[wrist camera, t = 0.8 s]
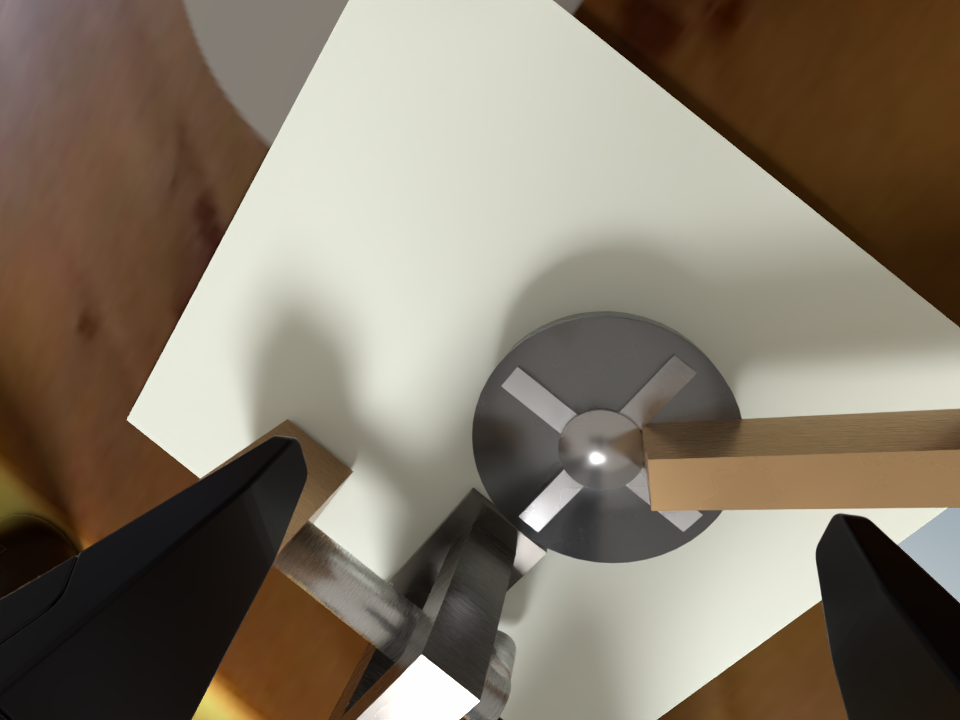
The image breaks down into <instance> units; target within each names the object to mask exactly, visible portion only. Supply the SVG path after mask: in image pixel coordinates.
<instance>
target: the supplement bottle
mask: <svg viewBox="0 0 960 720" xmlns="http://www.w3.org/2000/svg"><path fill="white" fill-rule="evenodd" d="M73 556H78V554H77V552H76V550H75V549H74V547H73V545H72V544H71V543H70V541H69V540H68V539H67V538H66V537H65V535H64V534H63V533H62V532H61V531H59V530H58V529H57V528H56V527H55V526H53V525H52V524H50V523H49V522H47V521H45V520H43V519H41V518H39V517H36V516H32V515H27V514H12V515H7V516H4V517H1V518H0V599H1V598H3V597H5V596H6V595H8V594H10V593H12V592H14V591H15V590H17V589H19V588H21V587H22V586H24V585H26V584H27V583H29V582H31V581H33V580H34V579H36V578H38V577H40V576H41V575H43V574H45V573H46V572H48V571H50V570H52V569H53V568H55V567H57V566H58V565H60V564H61V563H63V562H65V561H66V560H68V559H70V558H71V557H73Z"/></svg>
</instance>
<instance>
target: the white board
mask: <svg viewBox="0 0 960 720" xmlns="http://www.w3.org/2000/svg"><path fill="white" fill-rule="evenodd" d="M598 311H612V312H623V313H629V314H634V315H638V316H643V317H646V318H649V319H652V320H654V321H657V322H660V323H662V324H664V325H666V326H668V327H670V328H672V329H674V330H676V331H678V332H679V333H680V334H682V335H683V336H685V337H686V338H688V339H689V340H690V341H692V342H693V343H694V344H695V345H696V346H697V347H698V348H700V349H701V350H702V351H703V352H704V353H705V354H706V355H707V357H708V358H709V359H710V360H711V361H712V363H713V364H714V365H715V366H716V368H717V369H718V370H719V372H720V373H721V375H722V376H723V377H724V379H725V381H726V382H727V384H728V386H729V387H730V389H731V391H732V392H733V395H734V397H735V399H736V402H737V404H738V407H739V409H740V413H741V417H742V419H751V418H772V417H793V416H814V415H835V414H856V413H877V412H898V411H919V410H940V409H960V327H958V326H957V325H956V324H955V323H953V322H952V321H951V320H950V319H948V318H947V317H946V316H945V315H943V314H942V313H941V312H940V311H938V310H937V309H936V308H935V307H933V306H932V305H931V304H930V303H928V302H927V301H926V300H925V299H924V298H922V297H921V296H920V295H919V294H917V293H916V292H915V291H914V290H912V289H911V288H910V287H909V286H907V285H906V284H905V283H904V282H902V281H901V280H900V279H899V278H897V277H896V276H895V275H894V274H892V273H891V272H890V271H889V270H887V269H886V268H885V267H884V266H883V265H881V264H880V263H879V262H878V261H876V260H875V259H874V258H873V257H871V256H870V255H869V254H868V253H866V252H865V251H864V250H863V249H861V248H860V247H859V246H858V245H856V244H855V243H854V242H853V241H851V240H850V239H849V238H848V237H846V236H845V235H844V234H843V233H842V232H840V231H839V230H838V229H837V228H835V227H834V226H833V225H832V224H830V223H829V222H828V221H827V220H825V219H824V218H823V217H822V216H820V215H819V214H818V213H817V212H815V211H814V210H813V209H812V208H810V207H809V206H808V205H807V204H806V203H804V202H803V201H802V200H801V199H799V198H798V197H797V196H796V195H794V194H793V193H792V192H791V191H789V190H788V189H787V188H786V187H784V186H783V185H782V184H781V183H779V182H778V181H777V180H776V179H774V178H773V177H772V176H771V175H769V174H768V173H767V172H766V171H765V170H763V169H762V168H761V167H760V166H758V165H757V164H756V163H755V162H753V161H752V160H751V159H750V158H748V157H747V156H746V155H745V154H743V153H742V152H741V151H740V150H738V149H737V148H736V147H735V146H733V145H732V144H731V143H730V142H729V141H727V140H726V139H725V138H724V137H722V136H721V135H720V134H719V133H717V132H716V131H715V130H714V129H712V128H711V127H710V126H709V125H707V124H706V123H705V122H704V121H702V120H701V119H700V118H699V117H697V116H696V115H695V114H694V113H692V112H691V111H690V110H689V109H688V108H686V107H685V106H684V105H683V104H681V103H680V102H679V101H678V100H676V99H675V98H674V97H673V96H671V95H670V94H669V93H668V92H666V91H665V90H664V89H663V88H661V87H660V86H659V85H658V84H656V83H655V82H654V81H653V80H651V79H650V78H649V77H648V76H647V75H645V74H644V73H643V72H642V71H640V70H639V69H638V68H637V67H635V66H634V65H633V64H632V63H630V62H629V61H628V60H627V59H625V58H624V57H623V56H622V55H620V54H619V53H618V52H617V51H615V50H614V49H613V48H612V47H611V46H609V45H608V44H607V43H606V42H604V41H603V40H602V39H601V38H599V37H598V36H597V35H596V34H594V33H593V32H592V31H591V30H589V29H588V28H587V27H586V26H584V25H583V24H582V23H581V22H579V21H578V20H577V19H576V18H574V17H573V16H572V15H571V14H570V13H568V12H567V11H566V10H564V9H563V8H562V7H561V6H560V5H558V4H557V3H556V2H555V1H553V0H349V1H348V3H347V5H346V7H345V9H344V11H343V12H342V14H341V16H340V18H339V20H338V22H337V24H336V26H335V28H334V29H333V31H332V33H331V35H330V37H329V39H328V41H327V43H326V44H325V46H324V48H323V50H322V52H321V54H320V56H319V58H318V60H317V62H316V63H315V65H314V67H313V69H312V71H311V73H310V75H309V77H308V78H307V80H306V82H305V84H304V86H303V88H302V90H301V92H300V94H299V95H298V97H297V99H296V101H295V103H294V105H293V107H292V109H291V111H290V113H289V114H288V116H287V118H286V120H285V122H284V124H283V126H282V128H281V129H280V131H279V133H278V135H277V137H276V139H275V141H274V143H273V144H272V146H271V148H270V150H269V152H268V154H267V156H266V158H265V160H264V161H263V163H262V165H261V167H260V169H259V171H258V173H257V175H256V177H255V178H254V180H253V182H252V184H251V186H250V188H249V190H248V192H247V194H246V195H245V197H244V199H243V201H242V203H241V205H240V207H239V209H238V211H237V212H236V214H235V216H234V218H233V220H232V222H231V224H230V226H229V228H228V229H227V231H226V233H225V235H224V237H223V239H222V241H221V243H220V245H219V246H218V248H217V250H216V252H215V254H214V256H213V258H212V260H211V262H210V263H209V265H208V267H207V269H206V271H205V273H204V275H203V277H202V279H201V280H200V282H199V284H198V286H197V288H196V290H195V292H194V294H193V296H192V297H191V299H190V301H189V303H188V305H187V307H186V309H185V311H184V313H183V314H182V316H181V318H180V320H179V322H178V324H177V326H176V328H175V330H174V331H173V333H172V335H171V337H170V339H169V341H168V343H167V345H166V347H165V348H164V350H163V352H162V354H161V356H160V358H159V360H158V362H157V364H156V365H155V367H154V369H153V371H152V373H151V375H150V377H149V379H148V381H147V382H146V384H145V386H144V388H143V390H142V392H141V394H140V396H139V398H138V399H137V401H136V403H135V405H134V407H133V409H132V411H131V413H130V415H129V416H128V418H127V421H129V422H130V423H131V424H132V425H134V426H135V427H136V428H138V429H139V430H140V431H141V432H143V433H144V434H145V435H146V436H148V437H149V438H150V439H151V440H153V441H154V442H155V443H156V444H158V445H159V446H160V447H161V448H163V449H164V450H165V451H166V452H168V453H169V454H170V455H171V456H173V457H174V458H175V459H176V460H178V461H179V462H180V463H181V464H183V465H184V466H185V467H187V468H188V469H189V470H190V471H192V472H193V473H194V474H195V475H197V476H198V477H199V478H202V477H203V476H205V475H206V474H208V473H209V472H210V471H212V470H213V469H215V468H216V467H218V466H219V465H221V464H222V463H224V462H225V461H227V460H228V459H230V458H231V457H232V456H234V455H235V454H237V453H238V452H240V451H241V450H243V449H244V448H246V447H247V446H249V445H250V444H252V443H253V442H254V441H256V440H257V439H259V438H260V437H262V436H263V435H265V434H266V433H268V432H269V431H271V430H272V429H273V428H275V427H276V426H278V425H279V424H281V423H282V422H284V421H285V420H287V419H288V420H290V421H291V422H292V423H293V424H295V425H296V426H297V427H298V428H300V429H301V430H302V431H303V432H305V433H306V434H307V435H308V436H310V437H311V438H312V439H313V440H315V441H316V442H317V443H318V444H320V445H321V446H322V447H323V448H325V449H326V450H327V451H328V452H330V453H331V454H332V455H333V456H335V457H336V458H337V459H338V460H340V461H341V462H342V463H343V464H345V465H346V466H347V467H349V468H350V469H351V470H352V471H353V473H352V474H351V475H350V477H349V478H348V479H347V480H346V482H345V483H344V484H343V486H342V487H341V488H340V490H339V491H338V492H337V493H336V495H335V496H334V497H333V499H332V500H331V501H330V503H329V504H328V505H327V506H326V508H325V509H324V510H323V512H322V513H321V514H320V516H319V517H318V518H317V520H316V521H315V522H314V523H313V524H314V525H315V526H317V527H318V528H319V529H320V530H322V531H323V532H324V533H325V534H327V535H328V536H329V537H330V538H332V539H333V540H334V541H335V542H337V543H338V544H339V545H340V546H342V547H343V548H344V549H345V550H347V551H348V552H349V553H350V554H352V555H353V556H354V557H356V558H357V559H358V560H359V561H361V562H362V563H363V564H364V565H366V566H367V567H368V568H369V569H371V570H372V571H373V572H374V573H376V574H377V575H378V576H379V577H381V578H382V579H383V580H384V581H386V582H387V583H388V582H389V581H390V580H391V579H392V577H393V576H394V575H395V574H396V573H397V572H398V571H399V570H400V568H401V567H402V566H403V565H404V564H405V563H406V562H407V561H408V559H409V558H410V557H411V556H412V555H413V554H414V553H415V552H416V551H417V549H418V548H419V547H420V546H421V545H422V544H423V543H424V542H425V540H426V539H427V538H428V537H429V536H430V535H431V534H432V533H433V532H434V530H435V529H436V528H437V527H438V526H439V525H440V524H441V523H442V521H443V520H444V519H445V518H446V517H447V516H448V515H449V514H450V513H451V511H452V510H453V509H454V508H455V507H456V506H457V505H458V504H459V502H460V501H461V500H462V499H463V498H464V497H465V496H466V495H467V493H468V492H469V491H470V490H471V489H472V488H475V489H476V490H477V491H478V492H480V493H481V494H482V495H483V496H485V497H486V498H487V499H488V500H490V501H491V502H492V503H493V501H492V500H491V498H490V497H489V495H488V493H487V491H486V490H485V488H484V486H483V484H482V482H481V479H480V476H479V473H478V471H477V468H476V463H475V459H474V454H473V445H472V427H473V419H474V414H475V409H476V405H477V402H478V399H479V397H480V394H481V391H482V389H483V388H484V386H485V384H486V382H487V380H488V378H489V376H490V375H491V373H492V372H493V370H494V369H495V367H496V366H497V365H498V363H499V362H500V360H501V359H502V357H503V356H504V355H505V354H506V353H507V352H508V351H509V350H510V349H511V348H512V347H513V346H514V345H515V344H516V343H517V342H518V341H520V340H521V339H522V338H523V337H525V336H526V335H527V334H529V333H531V332H532V331H534V330H536V329H537V328H539V327H540V326H543V325H545V324H547V323H549V322H552V321H554V320H556V319H560V318H563V317H566V316H570V315H573V314H580V313H586V312H598ZM493 504H494V503H493ZM945 509H947V508H873V509H783V510H723V511H722V512H721V514H720V515H719V516H718V518H717V519H716V520H715V521H714V522H713V523H712V524H711V525H710V526H709V527H708V528H707V529H706V530H705V531H704V532H702V533H701V534H700V535H698V536H697V537H696V538H694V539H693V540H692V541H690V542H688V543H686V544H685V545H683V546H681V547H679V548H677V549H675V550H673V551H671V552H668V553H666V554H663V555H661V556H657V557H654V558H650V559H646V560H641V561H635V562H629V563H599V562H591V561H585V560H579V559H576V558H572V557H569V556H565V555H562V554H560V553H557V552H555V551H552V550H550V549H548V548H547V553H546V554H545V555H544V556H543V557H542V558H541V559H540V560H539V561H538V562H537V563H536V564H535V565H534V566H533V567H532V568H531V569H530V570H529V571H528V572H527V573H526V574H525V575H524V576H523V577H522V578H521V579H520V580H519V581H517V582H516V583H515V584H514V585H513V586H512V587H511V588H510V589H509V590H508V591H507V592H506V596H505V600H504V604H503V608H502V612H501V616H500V621H499V625H498V629H497V630H500V631H502V632H504V633H506V634H507V635H509V636H510V637H511V638H512V640H513V641H514V643H515V645H516V656H515V661H514V666H513V672H512V677H511V691H510V695H509V698H508V701H507V703H506V706H505V708H504V710H503V711H502V713H501V715H500V716H499V717H501V718H502V719H503V720H657V719H658V718H660V717H661V716H662V715H664V714H665V713H667V712H668V711H669V710H671V709H672V708H673V707H675V706H676V705H678V704H679V703H680V702H682V701H683V700H684V699H686V698H687V697H689V696H690V695H691V694H693V693H694V692H695V691H697V690H698V689H700V688H701V687H702V686H704V685H705V684H706V683H708V682H709V681H711V680H712V679H713V678H715V677H716V676H717V675H719V674H720V673H722V672H723V671H724V670H726V669H727V668H728V667H730V666H731V665H733V664H734V663H735V662H737V661H738V660H739V659H741V658H742V657H743V656H745V655H746V654H748V653H749V652H750V651H752V650H753V649H754V648H756V647H757V646H759V645H760V644H761V643H763V642H764V641H765V640H767V639H768V638H770V637H771V636H772V635H774V634H775V633H776V632H778V631H779V630H781V629H782V628H783V627H785V626H786V625H787V624H789V623H790V622H792V621H793V620H794V619H796V618H797V617H798V616H800V615H801V614H803V613H804V612H805V611H807V610H808V609H809V608H811V607H812V606H814V605H815V604H816V603H818V602H819V601H820V600H822V597H821V591H820V584H819V578H818V572H817V566H816V548H817V545H818V543H819V541H820V539H821V537H822V535H823V533H824V531H825V529H826V528H827V526H828V524H829V522H830V520H831V518H832V517H833V516H834V515H835V514H837V513H843V514H850V515H858V516H863V517H866V518H868V519H869V520H871V521H872V522H873V523H874V524H875V525H876V526H877V527H879V528H880V529H881V530H882V531H883V532H884V533H885V534H886V535H887V536H888V537H889V538H890V539H891V540H893V541H894V542H895V543H896V544H899V543H900V542H901V541H903V540H904V539H905V538H907V537H908V536H910V535H911V534H912V533H914V532H915V531H916V530H918V529H919V528H921V527H922V526H923V525H925V524H926V523H927V522H929V521H930V520H932V519H933V518H934V517H935V516H937V515H938V514H940V513H941V512H943V511H944V510H945Z"/></svg>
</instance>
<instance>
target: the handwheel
mask: <svg viewBox="0 0 960 720" xmlns="http://www.w3.org/2000/svg"><path fill="white" fill-rule="evenodd" d="M472 445H473V454H474V459H475V463H476V468H477V471H478V473H479V476H480V479H481V482H482V484H483V486H484V488H485V490H486V491H487V493H488V495H489V497H490V498H491V500H492V501H493V503H494V504H495V506H496V507H497V509H498V510H499V511H500V512H501V513H502V514H503V515H504V517H505V518H506V519H507V520H508V521H509V522H510V523H511V524H512V525H514V526H515V527H516V528H517V529H518V530H519V531H520V532H522V533H523V534H525V535H526V536H527V537H529V538H530V539H532V540H533V541H535V542H537V543H538V544H540V545H542V546H544V547H546V548H548V549H550V550H552V551H555V552H557V553H560V554H562V555H565V556H569V557H572V558H576V559H579V560H585V561H591V562H599V563H629V562H635V561H641V560H646V559H650V558H654V557H657V556H661V555H663V554H666V553H668V552H671V551H673V550H675V549H677V548H679V547H681V546H683V545H685V544H686V543H688V542H690V541H692V540H693V539H694V538H696V537H697V536H698V535H700V534H701V533H702V532H704V531H705V530H706V529H707V528H708V527H709V526H710V525H711V524H712V523H713V522H714V521H715V520H716V519H717V518H718V516H719V515H720V514H721V512H722V511H723V510H783V509H873V508H960V409H940V410H919V411H898V412H877V413H856V414H835V415H814V416H793V417H772V418H751V419H742V417H741V413H740V409H739V407H738V404H737V402H736V399H735V397H734V395H733V392H732V391H731V389H730V387H729V386H728V384H727V382H726V381H725V379H724V377H723V376H722V375H721V373H720V372H719V370H718V369H717V368H716V366H715V365H714V364H713V363H712V361H711V360H710V359H709V358H708V357H707V355H706V354H705V353H704V352H703V351H702V350H701V349H700V348H698V347H697V346H696V345H695V344H694V343H693V342H692V341H690V340H689V339H688V338H686V337H685V336H683V335H682V334H680V333H679V332H678V331H676V330H674V329H672V328H670V327H668V326H666V325H664V324H662V323H660V322H657V321H654V320H652V319H649V318H646V317H643V316H638V315H634V314H629V313H623V312H612V311H598V312H586V313H580V314H573V315H570V316H566V317H563V318H560V319H556V320H554V321H552V322H549V323H547V324H545V325H543V326H540V327H539V328H537V329H536V330H534V331H532V332H531V333H529V334H527V335H526V336H525V337H523V338H522V339H521V340H520V341H518V342H517V343H516V344H515V345H514V346H513V347H512V348H511V349H510V350H509V351H508V352H507V353H506V354H505V355H504V356H503V357H502V359H501V360H500V362H499V363H498V365H497V366H496V367H495V369H494V370H493V372H492V373H491V375H490V376H489V378H488V380H487V382H486V384H485V386H484V388H483V389H482V391H481V394H480V397H479V399H478V402H477V405H476V409H475V414H474V419H473V427H472Z"/></svg>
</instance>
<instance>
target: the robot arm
mask: <svg viewBox="0 0 960 720" xmlns="http://www.w3.org/2000/svg"><path fill="white" fill-rule="evenodd" d="M307 474H308V472H307V466H306V462H305V458H304V455H303V451H302V448H301V444H300V442H299V440H298V439H297V438H295V437H288V436H281V435H276V436H273V437H271V438H270V439H268V440H266V441H265V442H263V443H261V444H260V445H258V446H256V447H255V448H253V449H251V450H250V451H248V452H246V453H245V454H243V455H241V456H240V457H238V458H236V459H235V460H233V461H231V462H230V463H228V464H226V465H225V466H223V467H221V468H220V469H218V470H216V471H215V472H213V473H211V474H210V475H208V476H206V477H205V478H203V479H201V480H200V481H198V482H196V483H195V484H193V485H191V486H190V487H188V488H186V489H185V490H183V491H181V492H180V493H178V494H176V495H175V496H173V497H171V498H170V499H168V500H166V501H165V502H163V503H161V504H160V505H158V506H156V507H155V508H153V509H152V510H150V511H148V512H147V513H145V514H143V515H142V516H140V517H138V518H137V519H135V520H133V521H132V522H130V523H128V524H127V525H125V526H123V527H122V528H120V529H118V530H117V531H115V532H113V533H112V534H110V535H108V536H107V537H105V538H103V539H102V540H100V541H98V542H97V543H95V544H93V545H92V546H90V547H88V548H87V549H85V550H83V551H82V552H80V553H79V555H78V556H73V557H71V558H70V559H68V560H66V561H65V562H63V563H61V564H60V565H58V566H57V567H55V568H53V569H52V570H50V571H48V572H46V573H45V574H43V575H41V576H40V577H38V578H36V579H34V580H33V581H31V582H29V583H27V584H26V585H24V586H22V587H21V588H19V589H17V590H15V591H14V592H12V593H10V594H8V595H6V596H5V597H3V598H1V599H0V720H192V718H193V716H194V714H195V712H196V710H197V708H198V706H199V704H200V702H201V700H202V698H203V696H204V695H205V693H206V691H207V689H208V687H209V685H210V683H211V681H212V679H213V677H214V675H215V673H216V672H217V670H218V668H219V666H220V664H221V662H222V660H223V658H224V656H225V654H226V652H227V650H228V649H229V647H230V645H231V643H232V641H233V639H234V637H235V635H236V633H237V631H238V629H239V627H240V625H241V624H242V622H243V620H244V618H245V616H246V614H247V612H248V610H249V608H250V606H251V604H252V602H253V601H254V599H255V597H256V595H257V593H258V591H259V589H260V587H261V585H262V583H263V581H264V579H265V577H266V576H267V574H268V572H269V570H270V568H271V566H272V564H273V562H274V560H275V558H276V556H277V553H278V551H279V549H280V546H281V544H282V541H283V539H284V536H285V534H286V531H287V529H288V526H289V524H290V521H291V519H292V516H293V514H294V511H295V508H296V506H297V503H298V501H299V498H300V496H301V493H302V491H303V488H304V486H305V483H306V480H307ZM816 566H817V572H818V578H819V584H820V591H821V597H822V603H823V610H824V616H825V622H826V628H827V635H828V641H829V646H830V652H831V657H832V661H833V665H834V669H835V673H836V677H837V680H838V684H839V687H840V691H841V695H842V698H843V702H844V705H845V709H846V712H847V716H848V720H960V603H959V602H958V601H957V600H956V599H955V598H954V597H953V596H952V595H950V594H949V593H948V592H947V591H946V590H945V589H944V588H943V587H942V586H941V585H940V584H939V583H938V582H936V581H935V580H934V579H933V578H932V577H931V576H930V575H929V574H928V573H927V572H926V571H925V570H924V569H923V568H921V567H920V566H919V565H918V564H917V563H916V562H915V561H914V560H913V559H912V558H911V557H910V556H909V555H908V554H906V553H905V552H904V551H903V550H902V549H901V548H900V547H899V546H898V545H897V544H896V543H895V542H894V541H893V540H891V539H890V538H889V537H888V536H887V535H886V534H885V533H884V532H883V531H882V530H881V529H880V528H879V527H877V526H876V525H875V524H874V523H873V522H872V521H871V520H869V519H868V518H866V517H863V516H858V515H850V514H843V513H837V514H835V515H834V516H833V517H832V518H831V520H830V522H829V524H828V526H827V528H826V529H825V531H824V533H823V535H822V537H821V539H820V541H819V543H818V545H817V548H816Z"/></svg>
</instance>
